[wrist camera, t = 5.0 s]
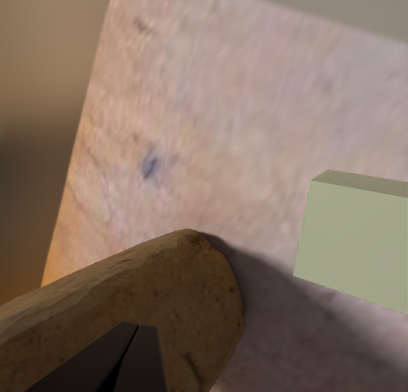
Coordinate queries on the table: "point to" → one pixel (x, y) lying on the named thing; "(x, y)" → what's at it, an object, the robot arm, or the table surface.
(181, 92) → the table surface
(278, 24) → the table surface
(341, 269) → the sage cube
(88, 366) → the robot arm
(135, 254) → the brown stone
